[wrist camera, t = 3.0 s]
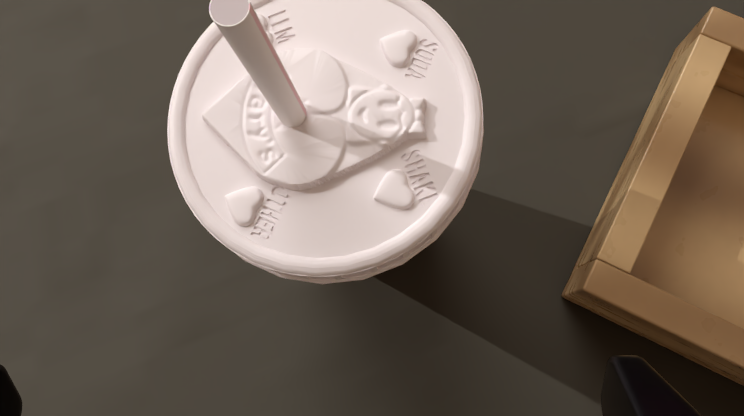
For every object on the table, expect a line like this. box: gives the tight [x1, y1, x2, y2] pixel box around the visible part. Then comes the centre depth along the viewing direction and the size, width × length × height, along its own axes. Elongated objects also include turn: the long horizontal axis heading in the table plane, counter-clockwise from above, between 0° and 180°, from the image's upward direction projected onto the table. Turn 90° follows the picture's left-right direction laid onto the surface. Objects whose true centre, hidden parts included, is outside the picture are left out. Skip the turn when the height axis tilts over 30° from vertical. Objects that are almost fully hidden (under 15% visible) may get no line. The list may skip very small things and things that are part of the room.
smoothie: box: [167, 0, 484, 284], centre depth 15 cm, size 6×6×14 cm
